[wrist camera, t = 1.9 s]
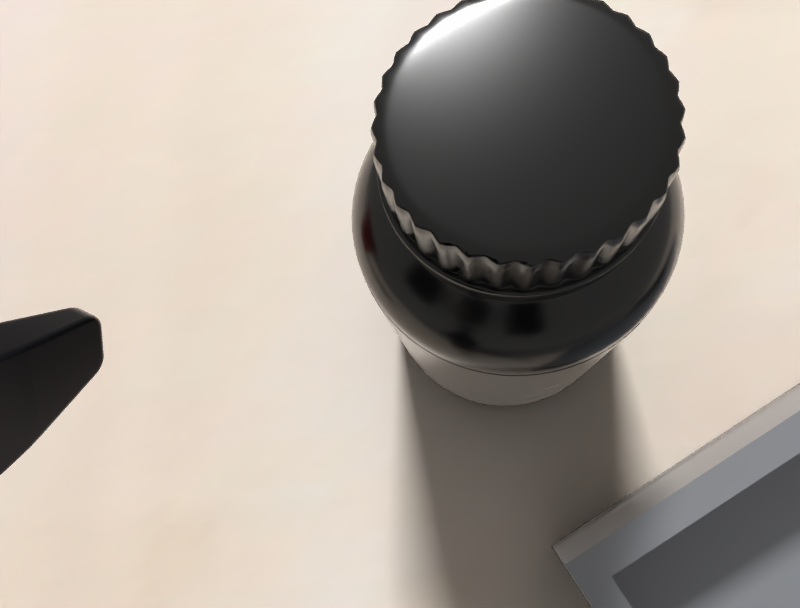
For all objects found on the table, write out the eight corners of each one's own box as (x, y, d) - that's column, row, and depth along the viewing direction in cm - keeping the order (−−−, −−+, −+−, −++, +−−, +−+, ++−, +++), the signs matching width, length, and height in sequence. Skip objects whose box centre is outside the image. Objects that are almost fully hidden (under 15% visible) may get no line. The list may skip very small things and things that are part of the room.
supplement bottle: (588, 431, 20) (723, 398, 9) (377, 380, 21) (244, 292, 10) (627, 224, 21) (790, -48, 10) (426, 188, 23) (360, -92, 11)
